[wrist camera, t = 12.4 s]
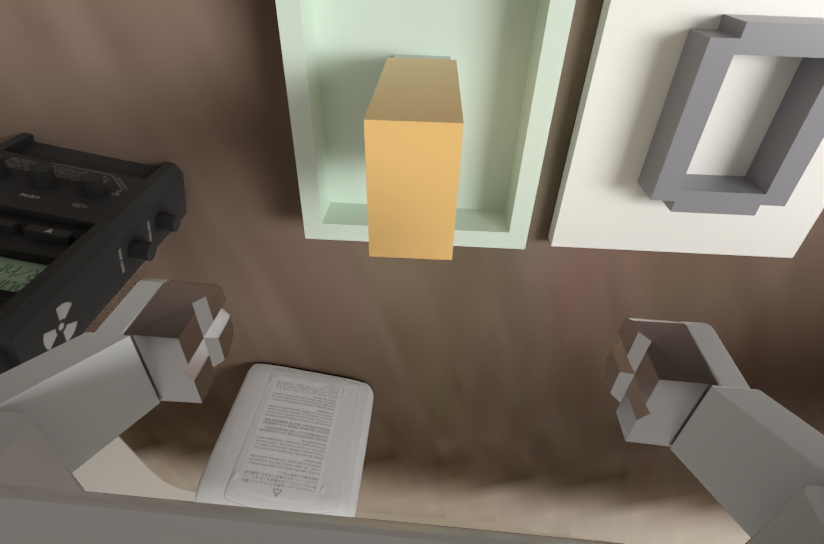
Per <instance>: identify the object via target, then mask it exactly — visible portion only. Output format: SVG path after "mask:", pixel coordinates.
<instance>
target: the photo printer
mask: <svg viewBox="0 0 824 544" xmlns="http://www.w3.org/2000/svg"><path fill="white" fill-rule="evenodd" d="M373 399H374V395H373V391H372V389H371V388H370V386H369V385H368V384H366V383H363V382H360V381H356V380H352V379H347V378H342V377H337V376H331V375H326V374H321V373H315V372H310V371H304V370H299V369H293V368H289V367H283V366H277V365H270V364H254V365H253V366H252V367H251V368H250V369H249V371H248V372H247V375H246V377H245V379H244V381H243V384H242V386H241V388H240V390H239V393H238V395H237V397H236V399H235V402H234V404H233V406H232V408H231V411H230V413H229V415H228V417H227V420H226V422H225V424H224V426H223V429H222V431H221V433H220V435H219V438H218V440H217V442H216V444H215V447H214V449H213V451H212V454H211V456H210V458H209V460H208V463H207V465H206V467H205V469H204V472H203V474H202V476H201V479H200V481H199V484H198V487H197V492H196V497H195V502H200V503H211V504H221V505H231V506H241V507H252V508H262V509H272V510H282V511H293V512H303V513H313V514H324V515H334V516H345V517H355V513H356V508H357V502H358V495H359V489H360V483H361V476H362V470H363V464H364V457H365V451H366V445H367V438H368V432H369V425H370V419H371V412H372V406H373Z"/></svg>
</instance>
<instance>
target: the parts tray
mask: <svg viewBox="0 0 824 544" xmlns="http://www.w3.org/2000/svg"><path fill="white" fill-rule="evenodd" d="M275 2H276V10H277V18H278V26H279V34H280V42H281V49H282V57H283V65H284V73H285V81H286V89H287V97H288V105H289V112H290V120H291V128H292V136H293V144H294V152H295V160H296V168H297V175H298V183H299V191H300V199H301V207H302V215H303V223H304V231H305V238H307V239H327V240H347V241H368V242H369V237H368V212H367V188H366V164H365V139H364V118H365V115H366V112H367V110H368V107H369V104H370V102H371V99H372V97H373V94H374V91H375V89H376V86H377V83H378V81H379V78H380V76H381V73H382V70H383V68H384V65H385V63H386V60H387V57H389V58H395V55H426V56H451V60H456V61H457V69H458V78H459V87H460V95H461V104H462V113H463V121H464V126H463V138H462V149H461V161H460V172H459V184H458V195H457V207H456V219H455V230H454V242H453V246H469V247H490V248H510V249H525V246H526V241H527V236H528V231H529V226H530V222H531V217H532V212H533V207H534V202H535V197H536V192H537V187H538V183H539V178H540V173H541V168H542V163H543V158H544V153H545V148H546V143H547V139H548V134H549V129H550V124H551V119H552V114H553V109H554V104H555V99H556V95H557V90H558V85H559V80H560V75H561V70H562V65H563V60H564V56H565V51H566V46H567V41H568V36H569V31H570V26H571V21H572V16H573V12H574V7H575V2H576V0H275Z"/></svg>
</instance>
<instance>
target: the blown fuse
mask: <svg viewBox="0 0 824 544" xmlns="http://www.w3.org/2000/svg"><path fill="white" fill-rule="evenodd" d="M463 126H464V121H463V113H462V104H461V95H460V87H459V78H458V69H457V61H456V60H451V56H426V55H395V58H389V57H387V60H386V63H385V65H384V68H383V70H382V73H381V76H380V78H379V81H378V83H377V86H376V89H375V91H374V94H373V97H372V99H371V102H370V104H369V107H368V110H367V112H366V115H365V118H364V139H365V164H366V188H367V212H368V237H369V256H373V257H396V258H419V259H441V260H452V253H453V242H454V230H455V219H456V207H457V195H458V184H459V172H460V161H461V149H462V138H463Z"/></svg>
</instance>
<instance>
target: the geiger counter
mask: <svg viewBox="0 0 824 544" xmlns="http://www.w3.org/2000/svg"><path fill="white" fill-rule="evenodd" d="M186 213H187V212H186V202H185V191H184V180H183V172H182V171H181V170H180V169H179V168H178V167H177V166H176V165H175V164H174V163H169V162H165V163H164V164H163V165H162V166H161V167H154V166H149V165H144V164H139V163H134V162H129V161H124V160H120V159H115V158H110V157H105V156H100V155H95V154H90V153H85V152H80V151H76V150H71V149H66V148H61V147H56V146H51V145H46V144H41V143H36V142H34V138H33V135H32V134H28V133H22V134H20V135H18V136H16V137H15V138H13V139H11V140H9V141H7V142H5V143H3V144H1V145H0V374H2V373H4V372H6V371H8V370H10V369H12V368H14V367H17V366H19V365H21V364H23V363H25V362H27V361H29V360H31V359H33V358H35V357H37V356H39V355H41V354H43V353H45V352H47V351H49V350H51V349H53V348H55V347H57V346H59V345H61V344H63V343H65V342H67V341H69V340H71V339H73V338H76V337H78V336H80V335H81V334H82V333H83V332H84V331H85V329H86V328H87V327H88V326H89V325H90V324H91V323H92V321H93V320H94V319H95V318H96V317H97V316H98V314H99V313H100V312H101V311H102V310H103V309H104V307H105V306H106V305H107V304H108V303H109V302H110V301H111V299H112V298H113V297H114V296H115V295H116V294H117V292H118V291H119V290H120V289H121V288H122V287H123V286H124V284H125V283H126V282H127V281H128V280H129V279H130V277H131V276H132V275H133V274H134V273H135V272H136V271H137V269H138V268H139V267H140V266H141V265H142V264H143V262H144V261H145V260H147V261H151V260H153V258H154V257H155V254H156V247H157V246H158V245H159V244H160V243H161V242H162V241H163V239H164V238H165V237H166V236H167V235H168V234H169V232H170V231H172V232H176V231H177V230H178V228H179V225H180V220H181V219H182V217H183V216H184V215H185V214H186Z"/></svg>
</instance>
